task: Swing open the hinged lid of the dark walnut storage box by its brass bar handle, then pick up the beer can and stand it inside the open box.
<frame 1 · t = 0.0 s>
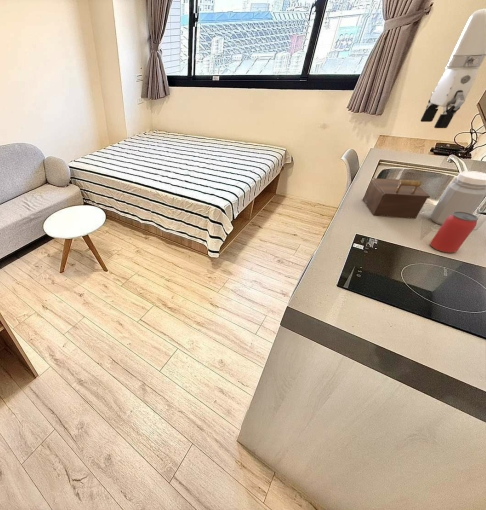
hand: (432, 124, 92), 32 cm above the table, tool pointing down, fingers open, 9 cm apart
beer can: (442, 248, 91), on the table
box lid: (401, 181, 106), point 12 cm above the table, hinge at 0.0°
storage box: (387, 208, 113), on the table
jar: (445, 222, 103), on the table
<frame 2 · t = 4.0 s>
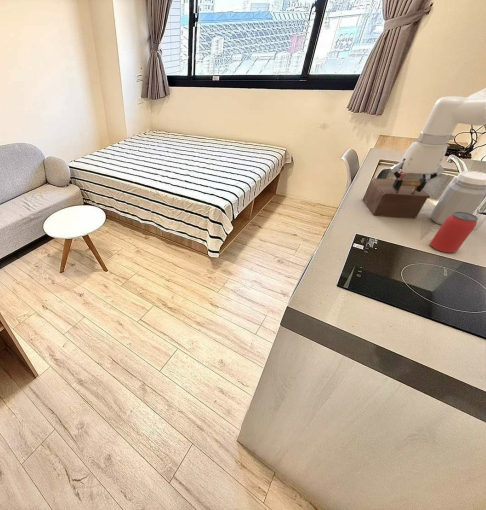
hand: (406, 189, 102), 11 cm above the table, tool pointing down, fingers closed on box lid, 6 cm apart
box lid: (401, 181, 106), point 12 cm above the table, hinge at 0.0°, touching gripper
everything else where it was.
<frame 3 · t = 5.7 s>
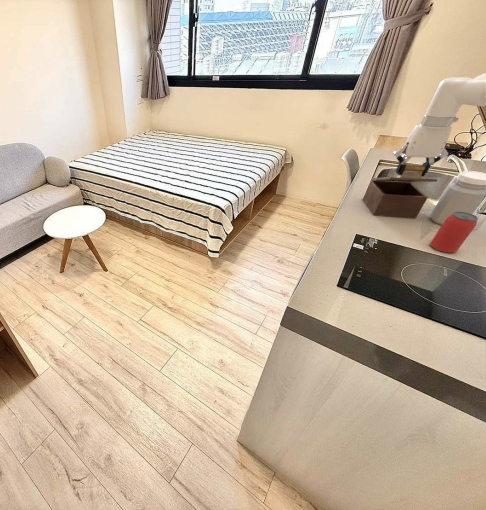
hand: (409, 174, 102), 16 cm above the table, tool pointing down, fingers closed on box lid, 6 cm apart
box lid: (403, 173, 106), point 14 cm above the table, hinge at 22.0°, touching gripper
everything else where it was.
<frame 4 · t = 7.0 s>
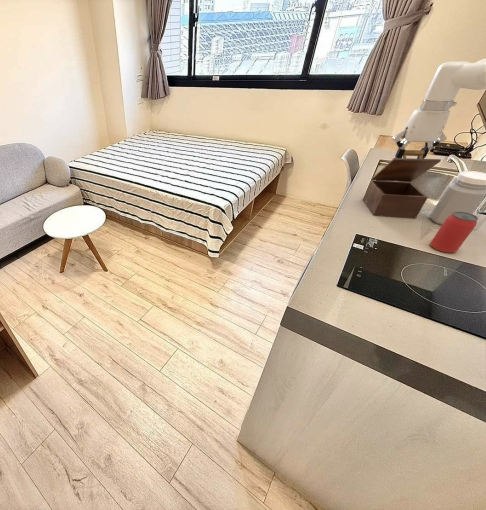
hand: (408, 159, 104), 20 cm above the table, tool pointing down, fingers closed on box lid, 6 cm apart
box lid: (403, 165, 107), point 17 cm above the table, hinge at 48.3°, touching gripper
everything else where it was.
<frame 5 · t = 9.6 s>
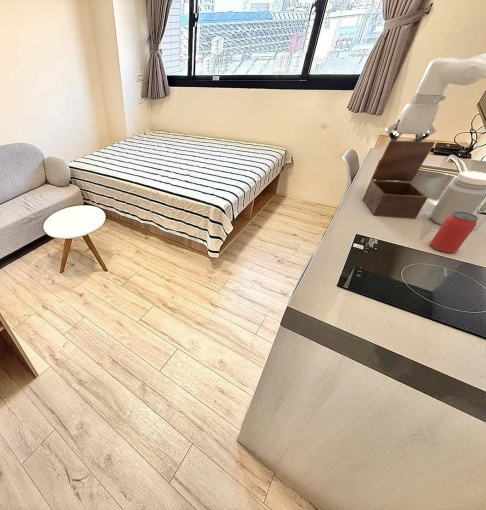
hand: (400, 150, 110), 20 cm above the table, tool pointing down, fingers closed on box lid, 6 cm apart
box lid: (399, 159, 110), point 17 cm above the table, hinge at 83.9°, touching gripper
everything else where it was.
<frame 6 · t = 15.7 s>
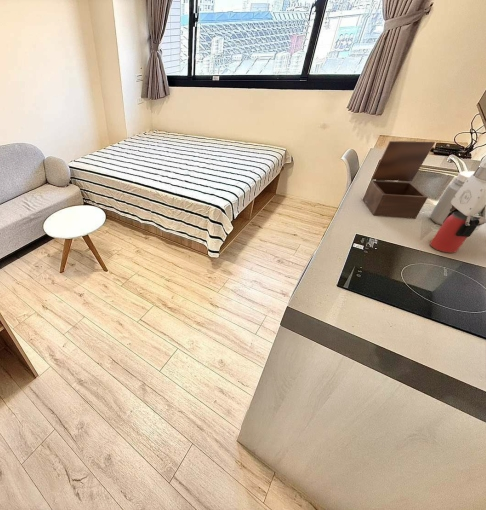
hand: (455, 229, 86), 7 cm above the table, tool pointing down, fingers closed on beer can, 6 cm apart
beer can: (442, 248, 91), on the table, touching gripper
box lid: (399, 159, 110), point 17 cm above the table, hinge at 84.0°
everything else where it was.
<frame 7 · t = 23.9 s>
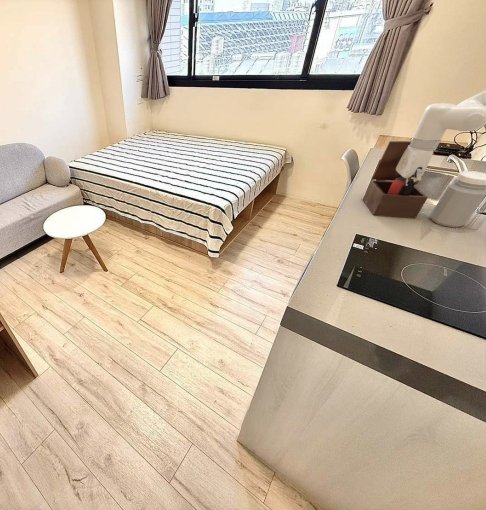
hand: (399, 191, 107), 9 cm above the table, tool pointing down, fingers closed on beer can, 6 cm apart
beer can: (391, 208, 111), point 1 cm above the table, touching gripper
everything else where it was.
when the fingers open (10 cm above the table, at t = 36.2 s): beer can drops 2 cm, resting on storage box.
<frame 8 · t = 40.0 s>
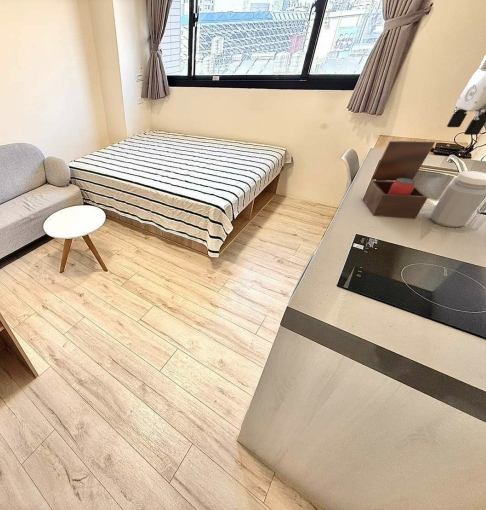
hand: (461, 130, 86), 32 cm above the table, tool pointing down, fingers open, 9 cm apart
beer can: (390, 209, 111), point 1 cm above the table, touching storage box
everything else where it was.
at the end: box lid at +84° (first picture: +0°); beer can inside the target area in the storage box (2.3 cm from its centre), point 0.7 cm above the storage box's base; beer can tilted 0° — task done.
